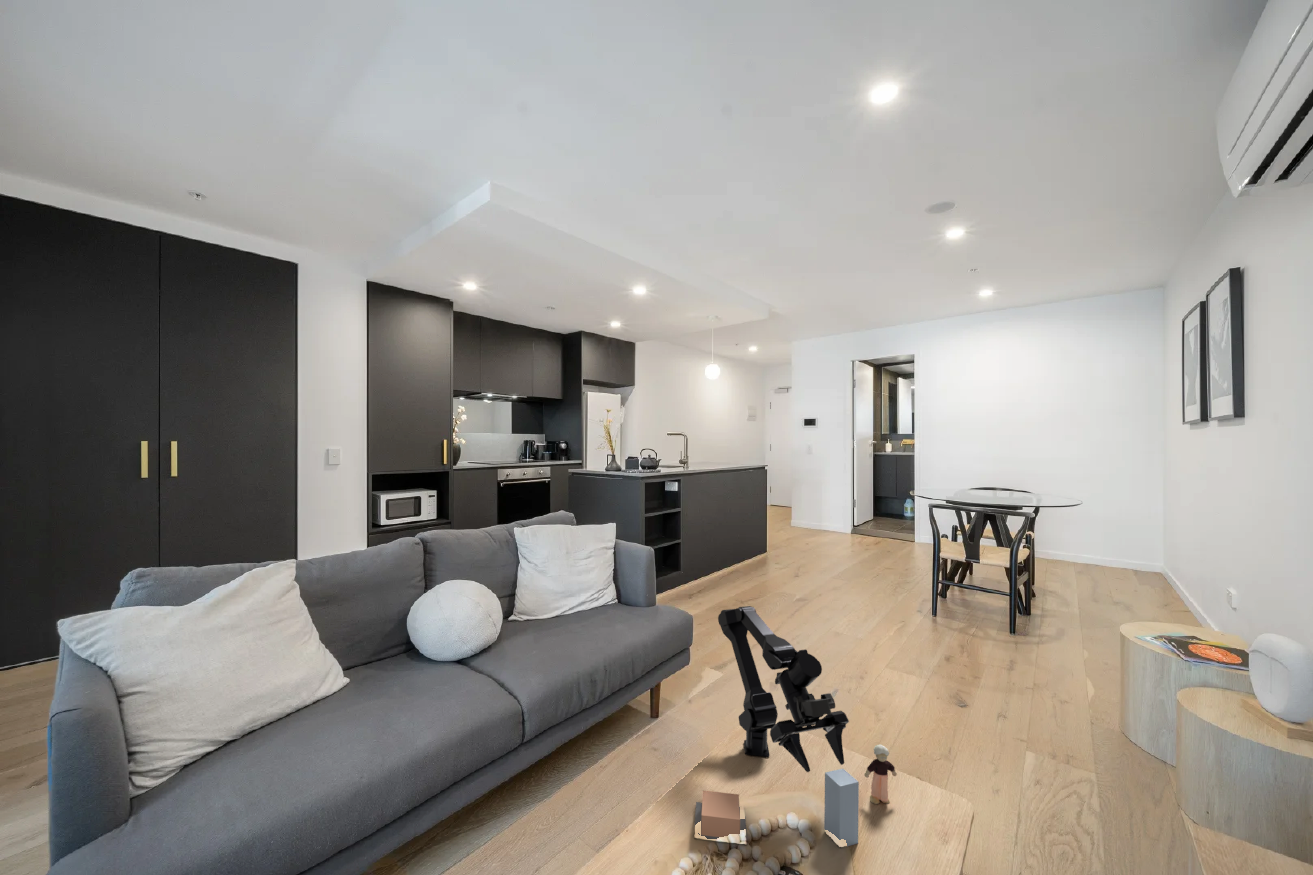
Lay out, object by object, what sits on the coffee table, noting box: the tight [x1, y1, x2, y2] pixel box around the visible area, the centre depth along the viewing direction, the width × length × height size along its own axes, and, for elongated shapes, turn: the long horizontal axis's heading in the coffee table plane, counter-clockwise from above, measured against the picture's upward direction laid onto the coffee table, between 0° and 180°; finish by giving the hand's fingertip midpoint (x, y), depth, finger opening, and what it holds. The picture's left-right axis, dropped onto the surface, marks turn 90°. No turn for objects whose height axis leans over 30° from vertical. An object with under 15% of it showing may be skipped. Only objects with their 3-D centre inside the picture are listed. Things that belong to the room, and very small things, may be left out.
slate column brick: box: [823, 768, 860, 847], centre depth 107 cm, size 5×5×12 cm
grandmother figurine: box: [863, 744, 898, 805], centre depth 119 cm, size 8×4×13 cm, turn 105°
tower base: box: [694, 790, 747, 839], centre depth 109 cm, size 10×11×5 cm
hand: (826, 767), depth 112 cm, fingers open, 9 cm apart
